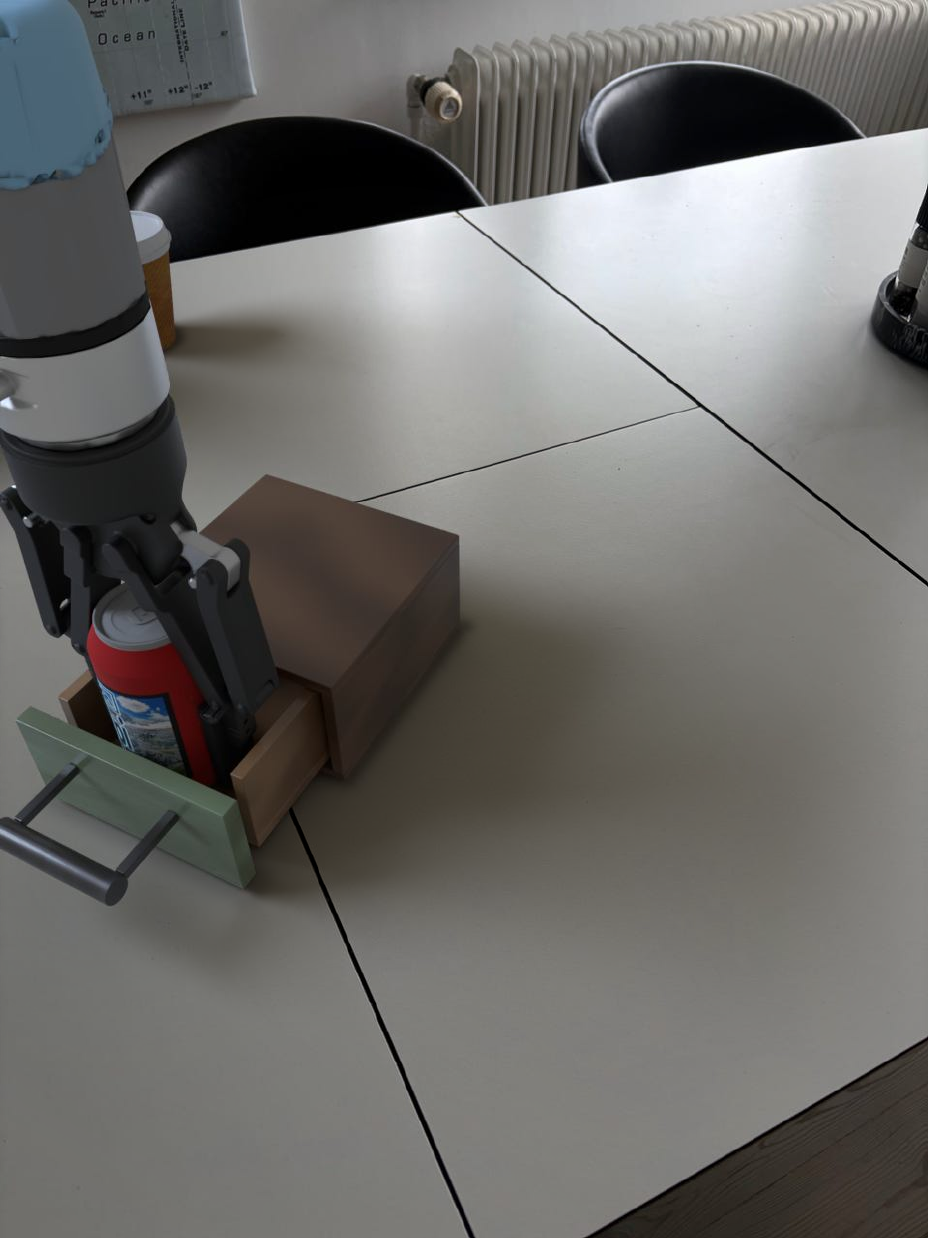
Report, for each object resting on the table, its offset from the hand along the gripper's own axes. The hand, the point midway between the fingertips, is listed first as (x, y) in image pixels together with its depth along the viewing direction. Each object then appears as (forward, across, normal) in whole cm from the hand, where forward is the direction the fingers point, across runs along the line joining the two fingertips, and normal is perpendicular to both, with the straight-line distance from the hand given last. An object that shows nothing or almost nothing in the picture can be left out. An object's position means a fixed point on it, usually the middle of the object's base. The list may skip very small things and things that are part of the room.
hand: (186, 746), depth 59 cm
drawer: (+3, 0, -1) cm, 3 cm away
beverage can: (+1, 0, 0) cm, 1 cm away
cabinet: (+4, 0, +12) cm, 13 cm away
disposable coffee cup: (+4, -41, +43) cm, 60 cm away
